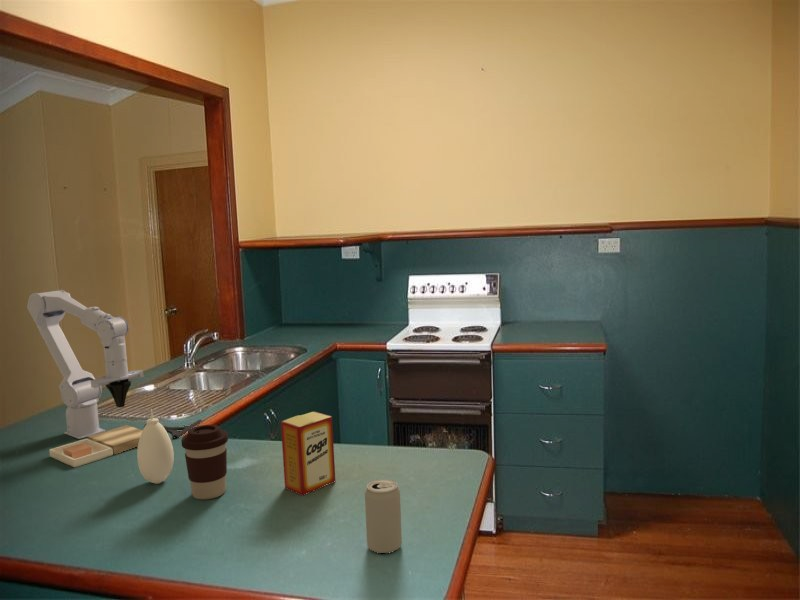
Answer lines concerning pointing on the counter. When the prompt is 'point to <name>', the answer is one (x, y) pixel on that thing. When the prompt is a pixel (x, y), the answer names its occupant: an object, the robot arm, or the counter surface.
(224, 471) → the coffee cup
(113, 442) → the large beige panel
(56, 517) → the counter surface
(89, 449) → the tile
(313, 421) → the baking soda box
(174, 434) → the bracket
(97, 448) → the tray
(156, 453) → the rubber air blower
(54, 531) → the counter surface
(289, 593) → the counter surface
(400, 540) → the beverage can
